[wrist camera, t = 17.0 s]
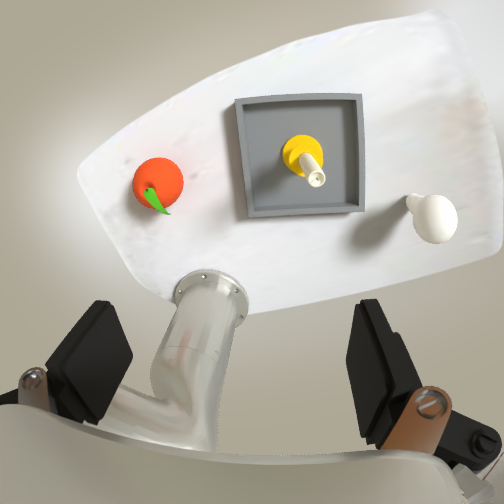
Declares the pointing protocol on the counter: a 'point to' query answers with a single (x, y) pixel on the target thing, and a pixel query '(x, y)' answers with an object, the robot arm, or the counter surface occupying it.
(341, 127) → the tray
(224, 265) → the counter surface
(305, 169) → the candle
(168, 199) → the clementine
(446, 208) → the lightbulb
